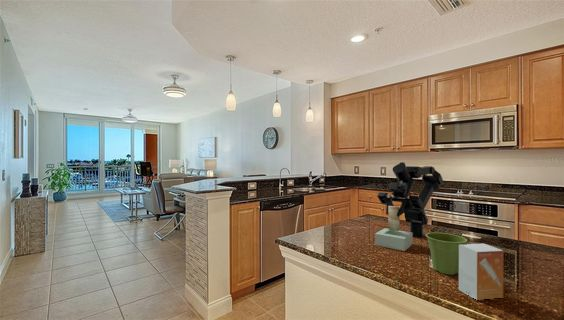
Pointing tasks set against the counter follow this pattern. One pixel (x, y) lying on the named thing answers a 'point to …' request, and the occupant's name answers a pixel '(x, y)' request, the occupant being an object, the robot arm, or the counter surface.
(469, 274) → the small box
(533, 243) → the counter surface
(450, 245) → the plant pot
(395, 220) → the beech peg
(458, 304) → the counter surface
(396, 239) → the socket block
